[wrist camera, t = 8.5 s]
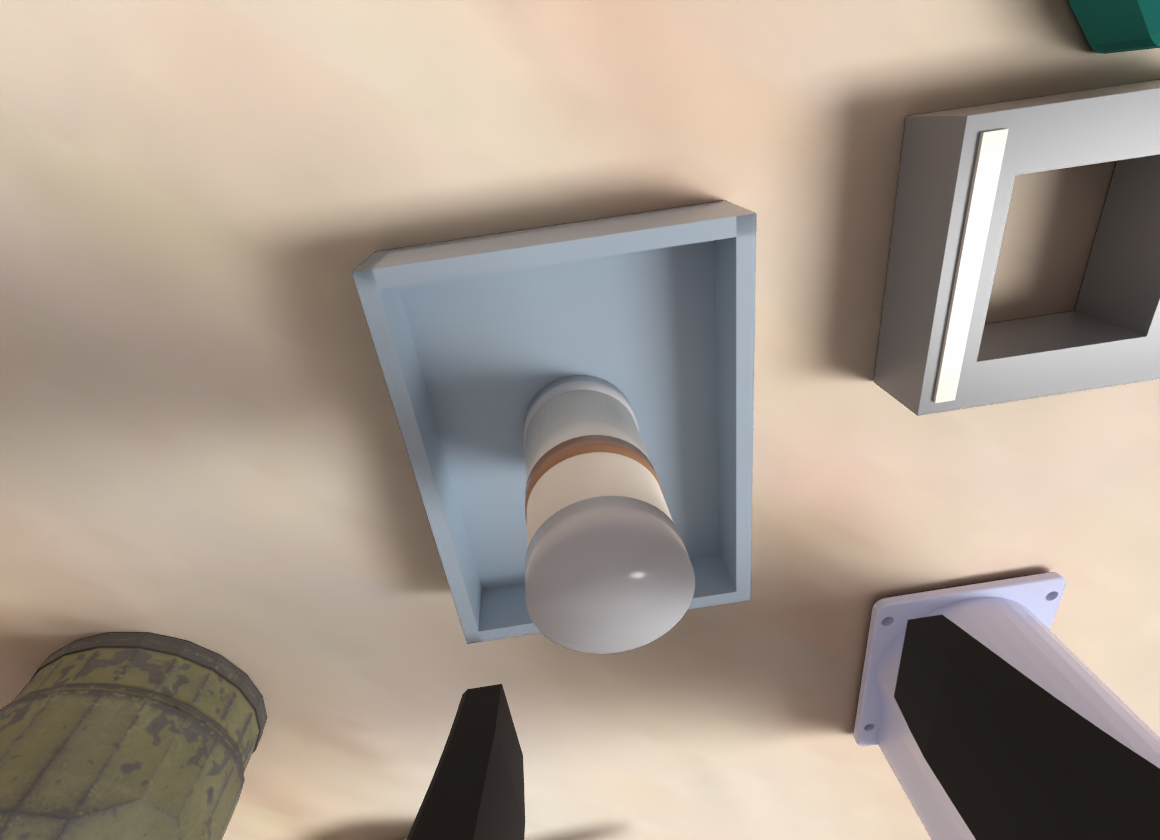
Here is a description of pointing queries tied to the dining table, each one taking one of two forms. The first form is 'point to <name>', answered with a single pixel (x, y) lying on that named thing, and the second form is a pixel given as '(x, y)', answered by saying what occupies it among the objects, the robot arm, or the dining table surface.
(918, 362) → the fuse block
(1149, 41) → the digital multimeter
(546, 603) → the cylinder
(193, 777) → the thermos
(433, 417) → the parts tray
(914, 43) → the dining table surface
